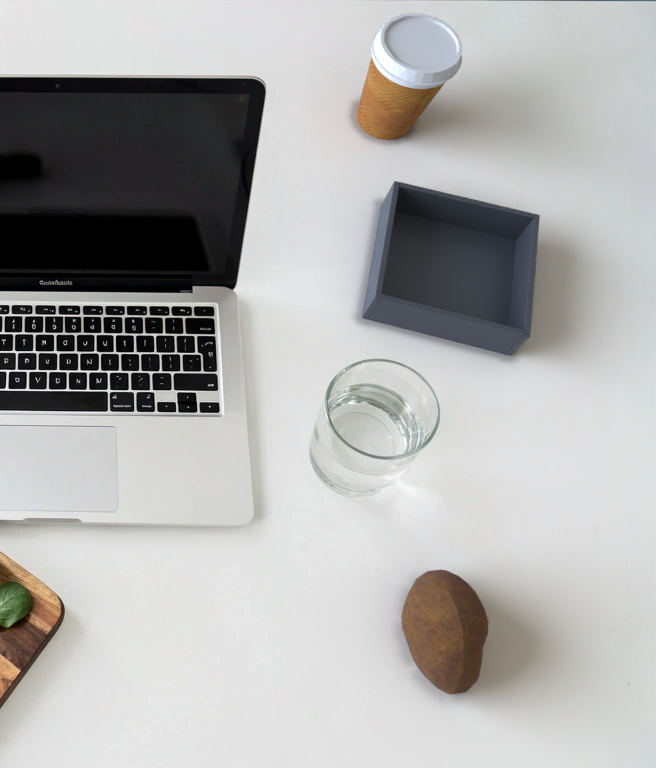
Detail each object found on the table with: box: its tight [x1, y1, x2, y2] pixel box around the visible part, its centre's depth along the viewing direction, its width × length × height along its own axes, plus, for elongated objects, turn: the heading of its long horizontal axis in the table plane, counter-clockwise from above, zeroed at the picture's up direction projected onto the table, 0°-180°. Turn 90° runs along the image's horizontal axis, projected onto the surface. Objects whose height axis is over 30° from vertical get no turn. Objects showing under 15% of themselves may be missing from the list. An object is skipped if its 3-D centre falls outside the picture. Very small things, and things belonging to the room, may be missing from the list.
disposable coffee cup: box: [356, 12, 463, 141], centre depth 100 cm, size 10×10×12 cm
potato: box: [400, 569, 489, 695], centre depth 77 cm, size 7×10×7 cm
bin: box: [361, 180, 541, 357], centre depth 94 cm, size 15×15×5 cm
